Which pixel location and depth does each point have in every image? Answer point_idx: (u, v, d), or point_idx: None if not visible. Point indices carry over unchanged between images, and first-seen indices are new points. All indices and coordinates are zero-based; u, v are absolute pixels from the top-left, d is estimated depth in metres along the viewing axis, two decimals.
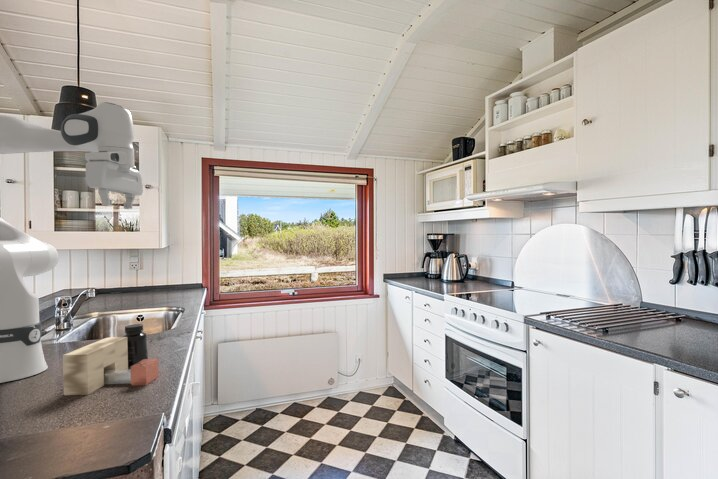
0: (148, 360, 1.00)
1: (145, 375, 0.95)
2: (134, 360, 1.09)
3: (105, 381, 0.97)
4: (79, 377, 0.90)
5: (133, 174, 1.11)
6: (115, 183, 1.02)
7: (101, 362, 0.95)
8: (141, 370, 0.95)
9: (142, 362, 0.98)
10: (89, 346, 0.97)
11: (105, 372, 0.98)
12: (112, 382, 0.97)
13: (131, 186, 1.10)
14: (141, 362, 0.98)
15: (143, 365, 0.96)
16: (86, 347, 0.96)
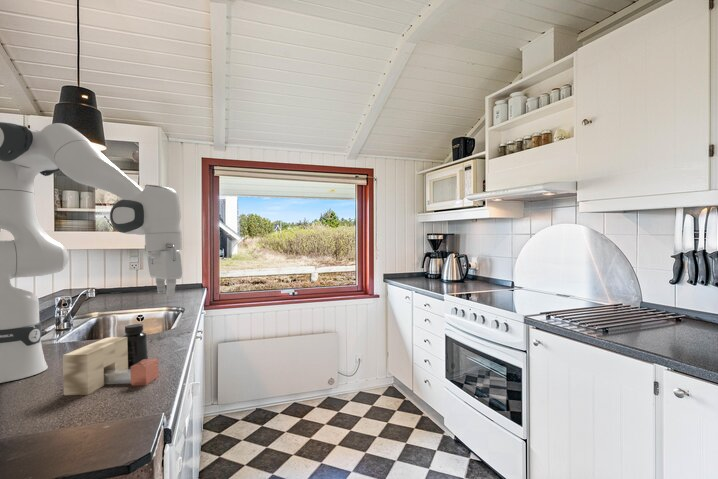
0: (148, 360, 1.00)
1: (145, 375, 0.95)
2: (134, 360, 1.09)
3: (105, 381, 0.97)
4: (79, 377, 0.90)
5: (161, 256, 0.94)
6: (154, 271, 1.01)
7: (101, 362, 0.95)
8: (141, 370, 0.95)
9: (142, 362, 0.98)
10: (89, 346, 0.97)
11: (105, 372, 0.98)
12: (112, 382, 0.97)
13: (161, 271, 0.95)
14: (141, 362, 0.98)
15: (143, 365, 0.96)
16: (86, 347, 0.96)
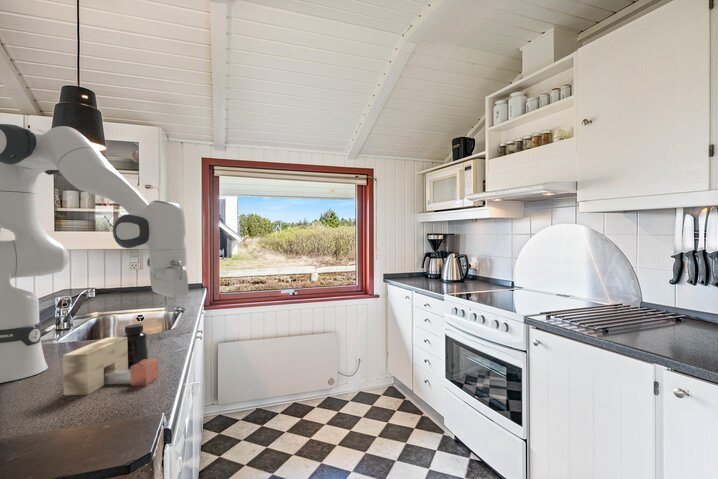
0: (148, 360, 1.00)
1: (145, 375, 0.95)
2: (134, 360, 1.09)
3: (105, 381, 0.97)
4: (79, 377, 0.90)
5: (167, 274, 0.93)
6: (158, 287, 1.00)
7: (101, 362, 0.95)
8: (141, 370, 0.95)
9: (142, 362, 0.98)
10: (89, 346, 0.97)
11: (105, 372, 0.98)
12: (112, 382, 0.97)
13: (166, 288, 0.94)
14: (141, 362, 0.98)
15: (143, 365, 0.96)
16: (86, 347, 0.96)
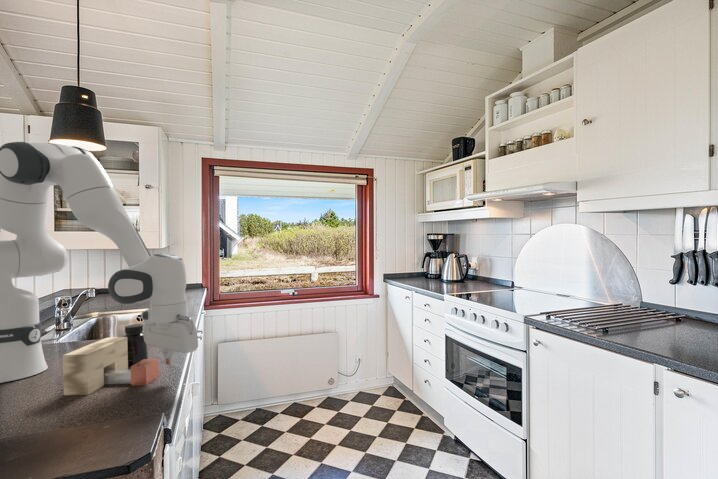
0: (148, 360, 1.00)
1: (145, 375, 0.95)
2: (134, 360, 1.09)
3: (105, 381, 0.97)
4: (79, 377, 0.90)
5: (173, 329, 0.94)
6: (156, 340, 0.98)
7: (101, 362, 0.95)
8: (141, 370, 0.95)
9: (142, 362, 0.98)
10: (89, 346, 0.97)
11: (105, 372, 0.98)
12: (112, 382, 0.97)
13: (171, 343, 0.94)
14: (141, 362, 0.98)
15: (143, 365, 0.96)
16: (86, 347, 0.96)
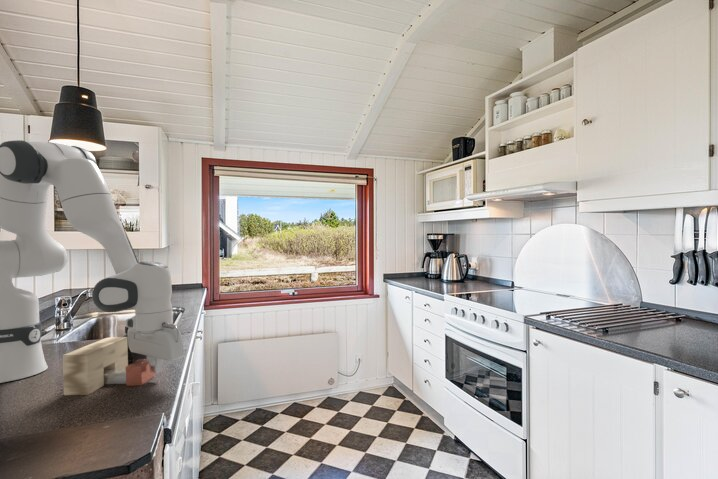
0: (143, 360, 1.00)
1: (141, 375, 0.95)
2: (134, 360, 1.09)
3: None
4: (79, 377, 0.90)
5: (159, 337, 0.94)
6: (141, 348, 0.99)
7: (101, 362, 0.95)
8: (136, 370, 0.95)
9: (138, 362, 0.98)
10: (89, 346, 0.97)
11: None
12: (107, 382, 0.97)
13: (156, 351, 0.95)
14: (136, 362, 0.98)
15: (138, 365, 0.96)
16: (86, 347, 0.96)
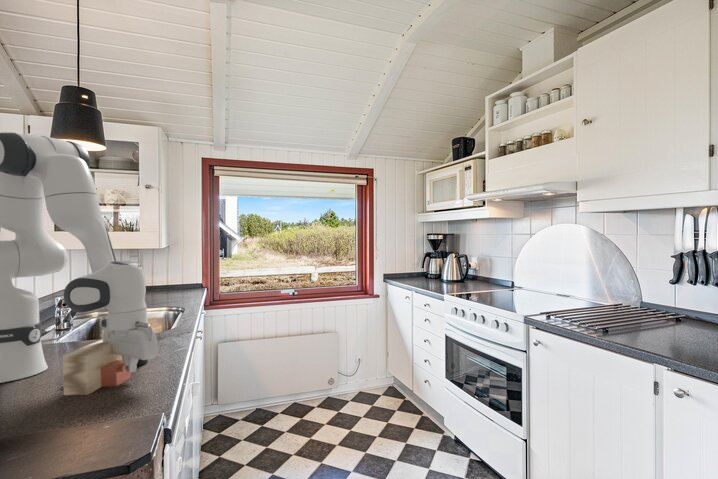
0: (120, 361, 1.00)
1: (116, 376, 0.95)
2: None
3: None
4: (79, 377, 0.90)
5: (132, 336, 0.94)
6: (115, 348, 0.98)
7: (101, 362, 0.95)
8: (111, 371, 0.95)
9: (114, 363, 0.98)
10: (89, 346, 0.97)
11: None
12: None
13: (130, 350, 0.95)
14: (112, 363, 0.98)
15: (113, 366, 0.96)
16: (86, 347, 0.96)
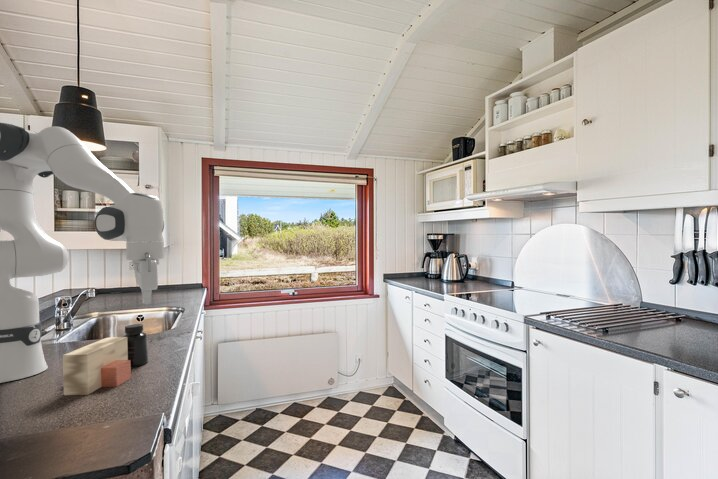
0: (120, 361, 1.00)
1: (116, 376, 0.95)
2: (134, 360, 1.09)
3: None
4: (79, 377, 0.90)
5: (139, 266, 0.93)
6: (137, 279, 1.00)
7: (101, 362, 0.95)
8: (111, 372, 0.95)
9: (114, 364, 0.98)
10: (89, 346, 0.97)
11: None
12: None
13: (139, 280, 0.94)
14: (112, 363, 0.98)
15: (114, 366, 0.96)
16: (86, 347, 0.96)
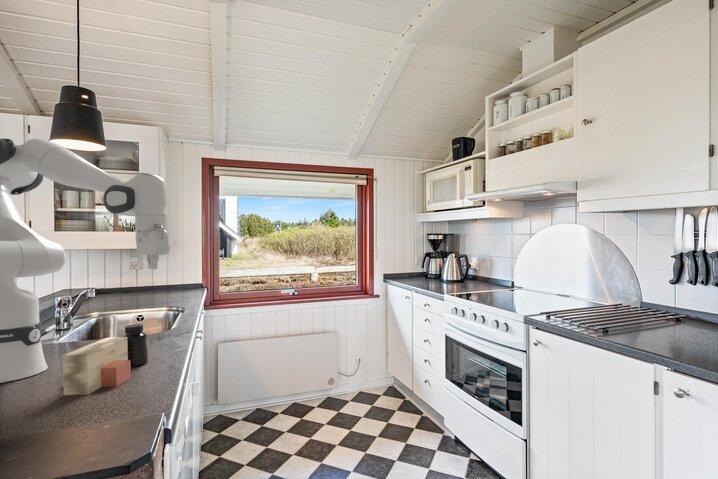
0: (120, 361, 1.00)
1: (116, 376, 0.95)
2: (134, 360, 1.09)
3: None
4: (79, 377, 0.90)
5: (150, 235, 1.09)
6: (142, 248, 1.15)
7: (101, 362, 0.95)
8: (111, 372, 0.95)
9: (114, 364, 0.98)
10: (89, 346, 0.97)
11: None
12: None
13: (149, 248, 1.10)
14: (112, 363, 0.98)
15: (114, 366, 0.96)
16: (86, 347, 0.96)
